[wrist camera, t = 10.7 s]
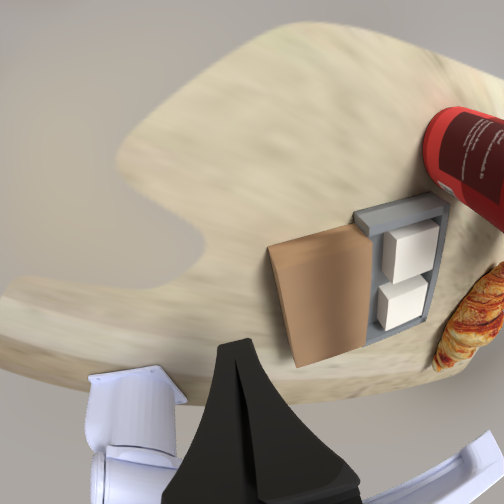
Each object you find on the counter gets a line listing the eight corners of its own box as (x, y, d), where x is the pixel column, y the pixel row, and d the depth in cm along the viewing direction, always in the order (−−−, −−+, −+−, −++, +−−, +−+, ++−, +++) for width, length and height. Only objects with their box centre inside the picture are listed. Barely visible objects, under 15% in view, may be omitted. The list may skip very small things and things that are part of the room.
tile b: (432, 269, 23) (420, 256, 24) (439, 226, 20) (425, 214, 22) (392, 284, 23) (381, 270, 24) (396, 239, 20) (383, 227, 22)
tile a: (421, 314, 26) (412, 302, 28) (427, 283, 24) (416, 270, 25) (385, 331, 26) (376, 317, 28) (388, 300, 24) (378, 286, 25)
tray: (353, 330, 29) (362, 347, 27) (353, 211, 21) (369, 227, 19) (414, 306, 29) (425, 320, 27) (431, 191, 21) (449, 203, 19)
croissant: (431, 344, 42) (462, 368, 37) (408, 374, 37) (443, 404, 32) (492, 241, 31) (531, 269, 26) (484, 258, 25) (532, 294, 20)
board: (288, 344, 28) (296, 368, 26) (267, 246, 22) (276, 270, 19) (353, 324, 28) (365, 345, 26) (354, 222, 22) (372, 242, 19)
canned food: (476, 178, 21) (559, 235, 12) (420, 197, 22) (512, 272, 12) (476, 102, 17) (576, 141, 8) (415, 108, 17) (537, 153, 8)
